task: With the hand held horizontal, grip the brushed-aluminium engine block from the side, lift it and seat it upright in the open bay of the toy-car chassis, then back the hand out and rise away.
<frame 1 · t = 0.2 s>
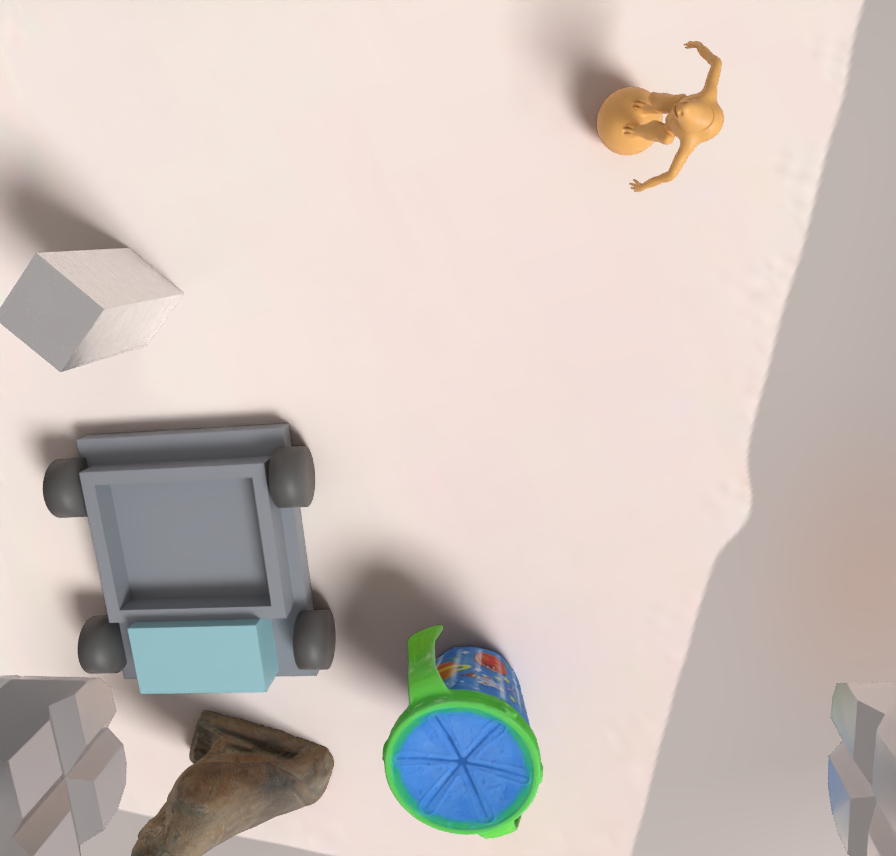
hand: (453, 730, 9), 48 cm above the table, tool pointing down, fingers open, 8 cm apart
snack cup: (472, 683, 63), on the table
engine block: (138, 297, 58), on the table
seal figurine: (264, 750, 67), on the table
figurine: (640, 131, 52), on the table
toy car chassis: (206, 552, 62), on the table
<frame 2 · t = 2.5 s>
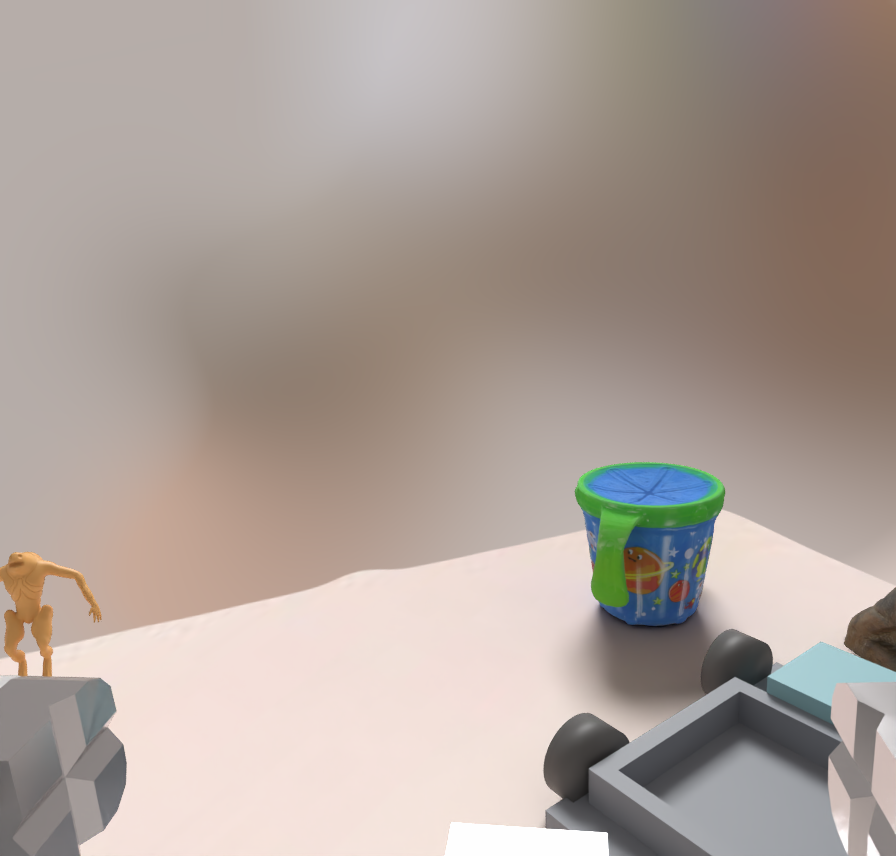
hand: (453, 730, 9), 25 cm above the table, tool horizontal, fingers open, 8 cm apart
snack cup: (647, 608, 62), on the table
figurine: (49, 736, 50), on the table
toy car chassis: (808, 831, 39), on the table
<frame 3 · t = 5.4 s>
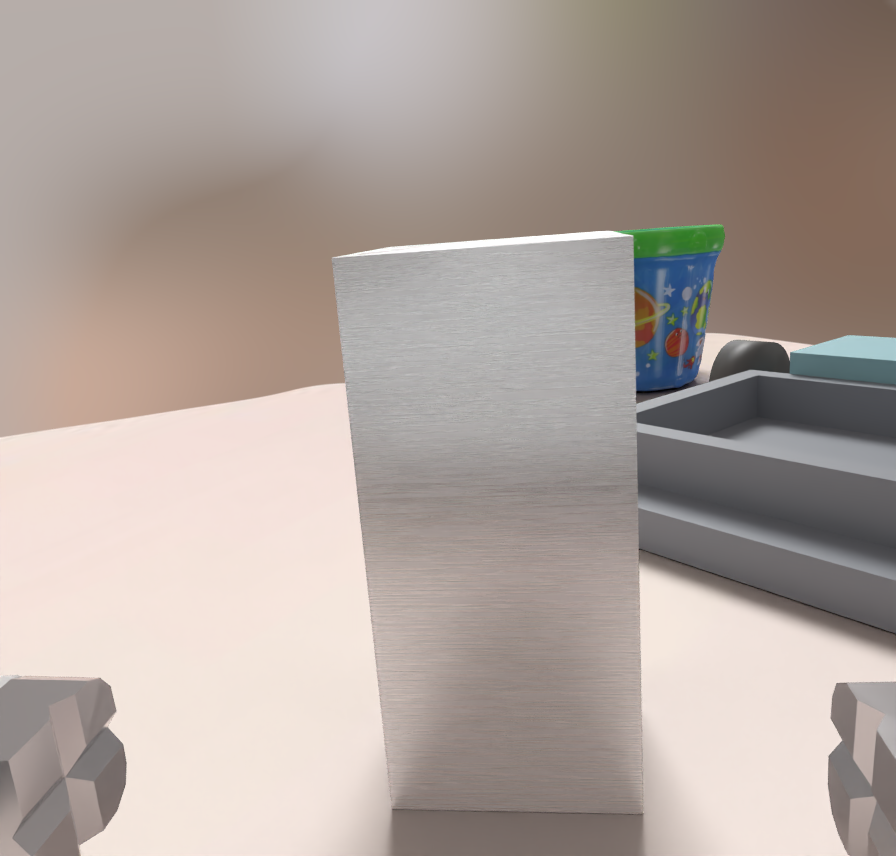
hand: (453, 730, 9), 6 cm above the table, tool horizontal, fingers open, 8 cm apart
snack cup: (640, 386, 54), on the table
engine block: (518, 733, 18), on the table
toy car chassis: (853, 490, 32), on the table
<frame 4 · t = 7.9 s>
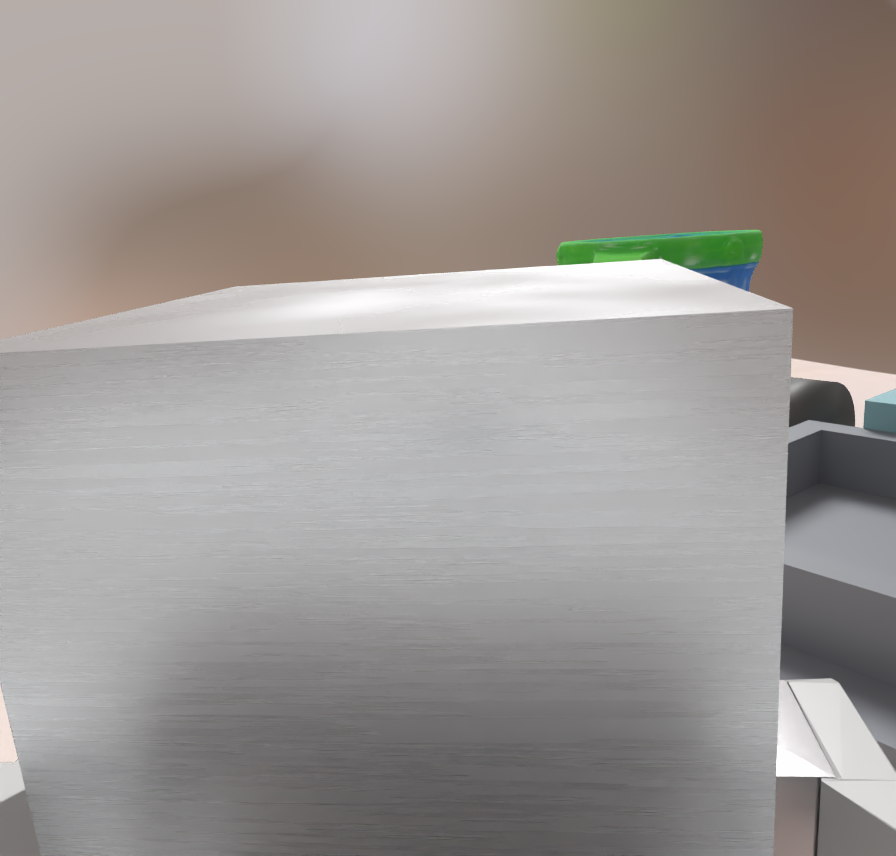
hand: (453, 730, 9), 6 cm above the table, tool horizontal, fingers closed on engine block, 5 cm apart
snack cup: (658, 422, 45), on the table
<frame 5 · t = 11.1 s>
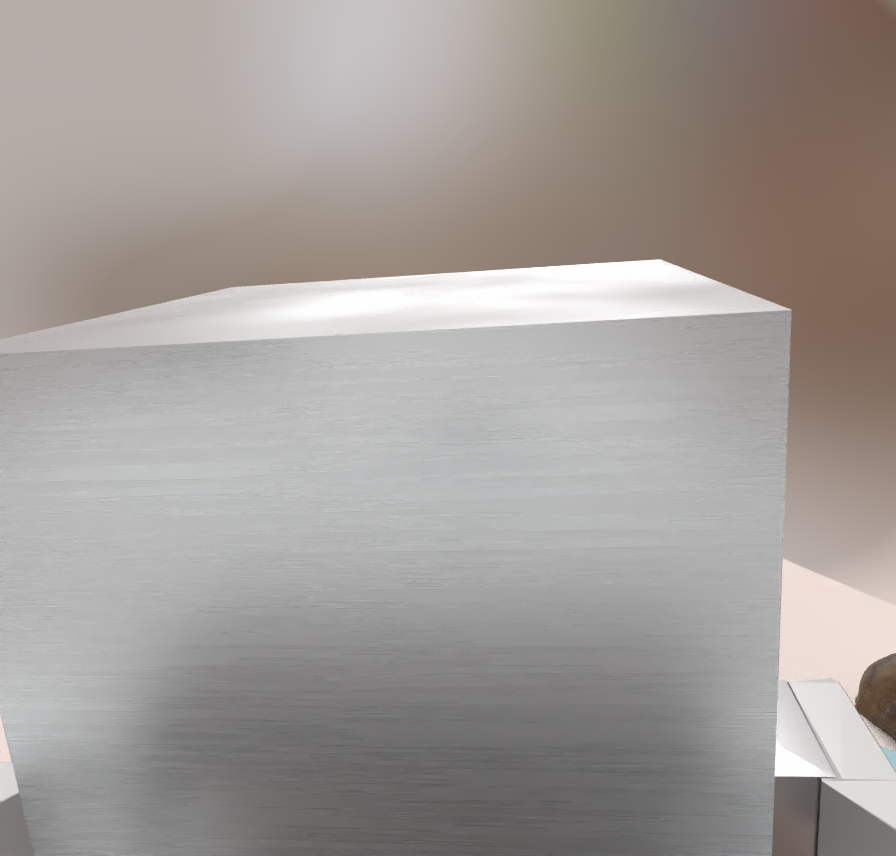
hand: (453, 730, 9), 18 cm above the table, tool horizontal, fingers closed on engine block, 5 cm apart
when the fingers open (9 cm above the table, at t = 14.4 s): engine block drops 2 cm, resting on toy car chassis.
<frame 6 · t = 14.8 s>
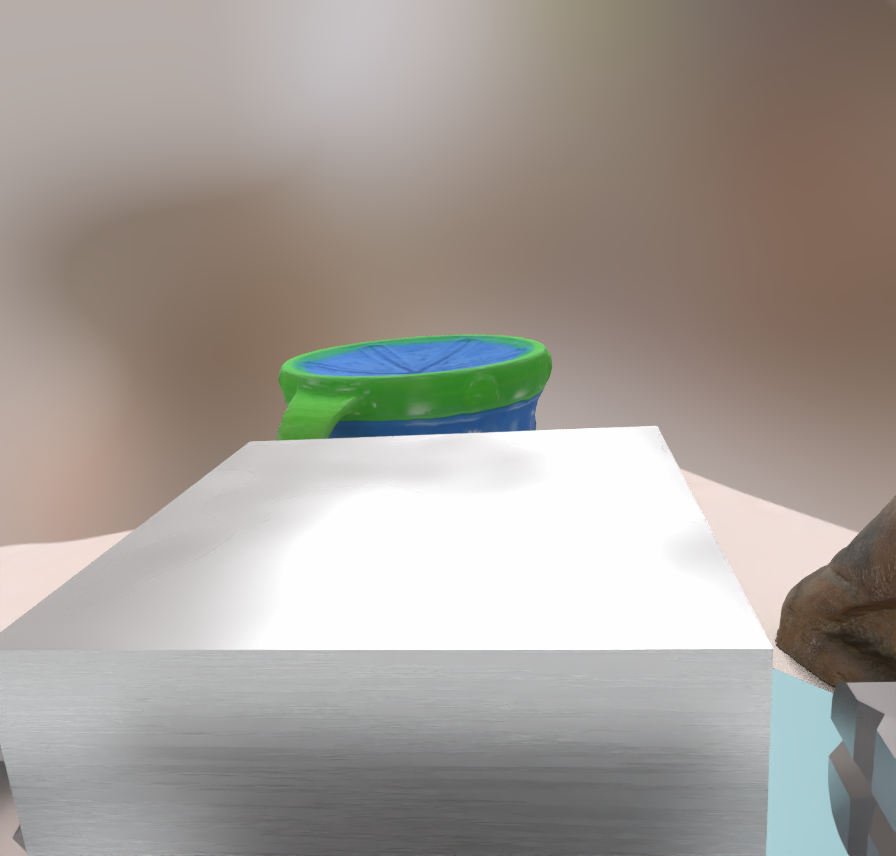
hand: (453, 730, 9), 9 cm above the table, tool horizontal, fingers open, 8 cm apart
snack cup: (433, 590, 34), on the table
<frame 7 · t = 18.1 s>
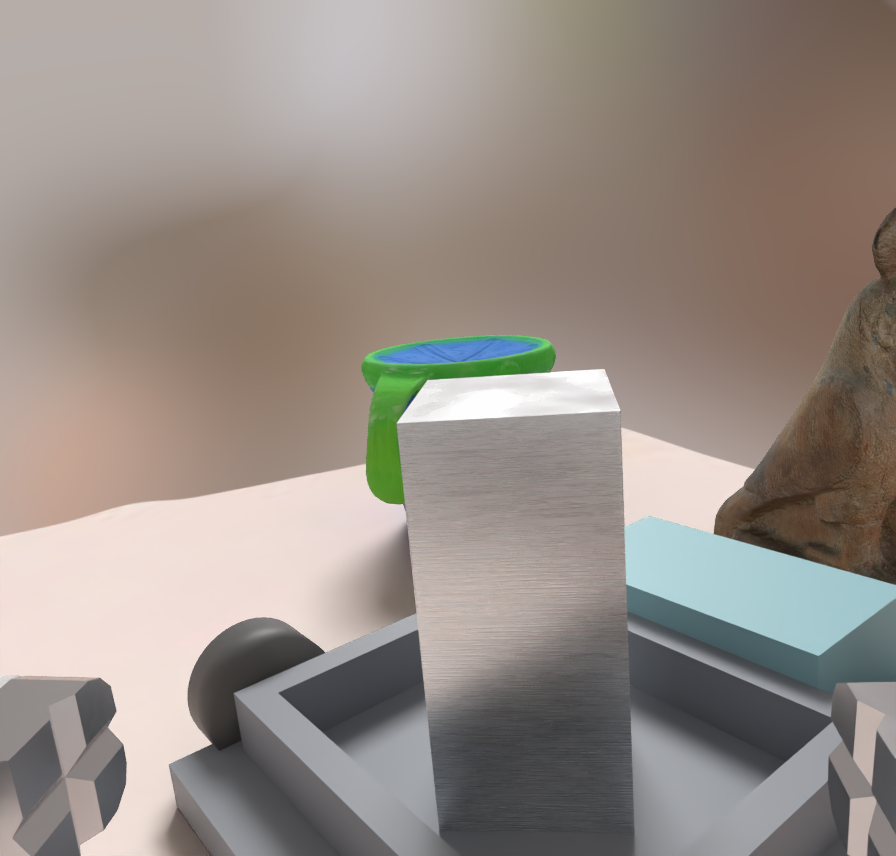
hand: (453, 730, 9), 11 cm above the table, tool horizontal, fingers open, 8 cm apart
snack cup: (471, 521, 47), on the table
engine block: (536, 767, 23), point 1 cm above the table, touching toy car chassis
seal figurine: (821, 576, 37), on the table
toy car chassis: (588, 778, 24), on the table
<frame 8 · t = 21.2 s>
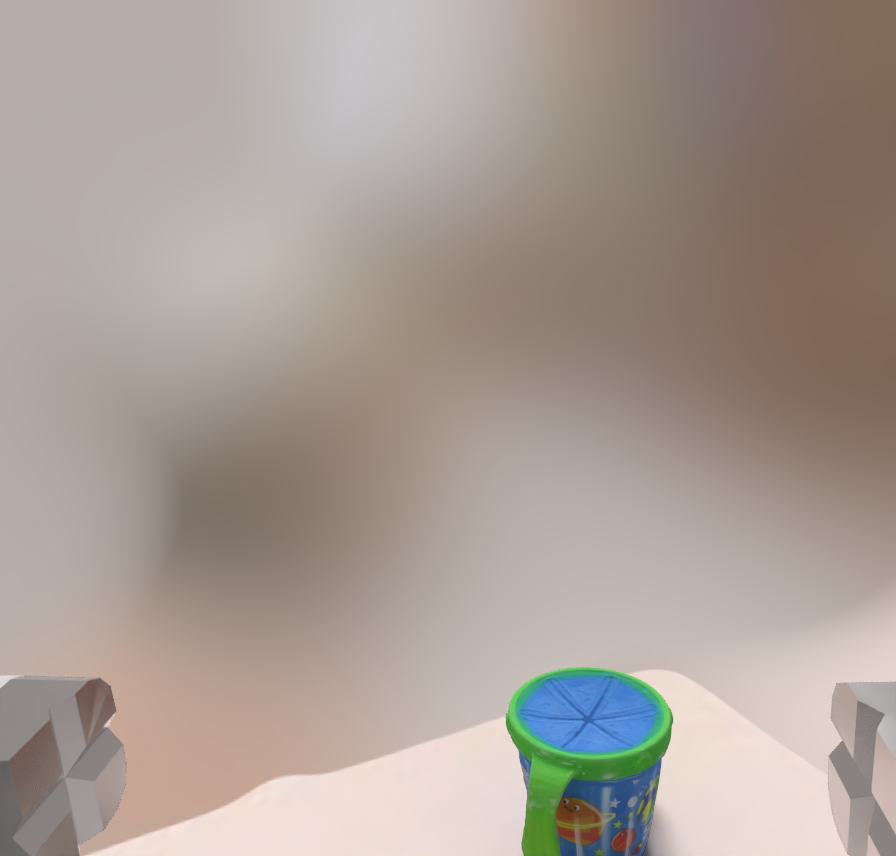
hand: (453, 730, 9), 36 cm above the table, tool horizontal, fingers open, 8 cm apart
snack cup: (591, 840, 55), on the table
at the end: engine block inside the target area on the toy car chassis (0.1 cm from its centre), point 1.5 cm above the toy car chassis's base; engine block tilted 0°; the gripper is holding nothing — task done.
